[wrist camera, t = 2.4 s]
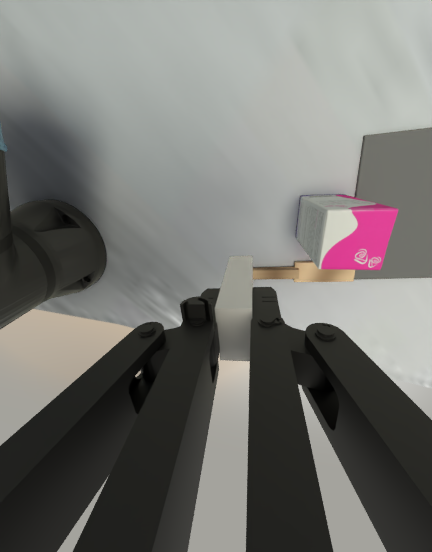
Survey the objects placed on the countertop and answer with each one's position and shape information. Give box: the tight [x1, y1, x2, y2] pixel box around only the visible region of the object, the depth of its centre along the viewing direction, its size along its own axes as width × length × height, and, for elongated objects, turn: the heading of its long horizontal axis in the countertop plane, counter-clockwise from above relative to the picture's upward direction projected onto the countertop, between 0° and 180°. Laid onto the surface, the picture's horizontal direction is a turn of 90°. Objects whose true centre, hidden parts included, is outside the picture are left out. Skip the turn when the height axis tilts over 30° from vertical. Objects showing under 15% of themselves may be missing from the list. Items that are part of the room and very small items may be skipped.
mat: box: [354, 128, 432, 279], centre depth 28 cm, size 13×18×1 cm
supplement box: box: [296, 195, 398, 270], centre depth 25 cm, size 6×6×12 cm
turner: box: [253, 261, 355, 282], centre depth 33 cm, size 16×3×1 cm, turn 95°
